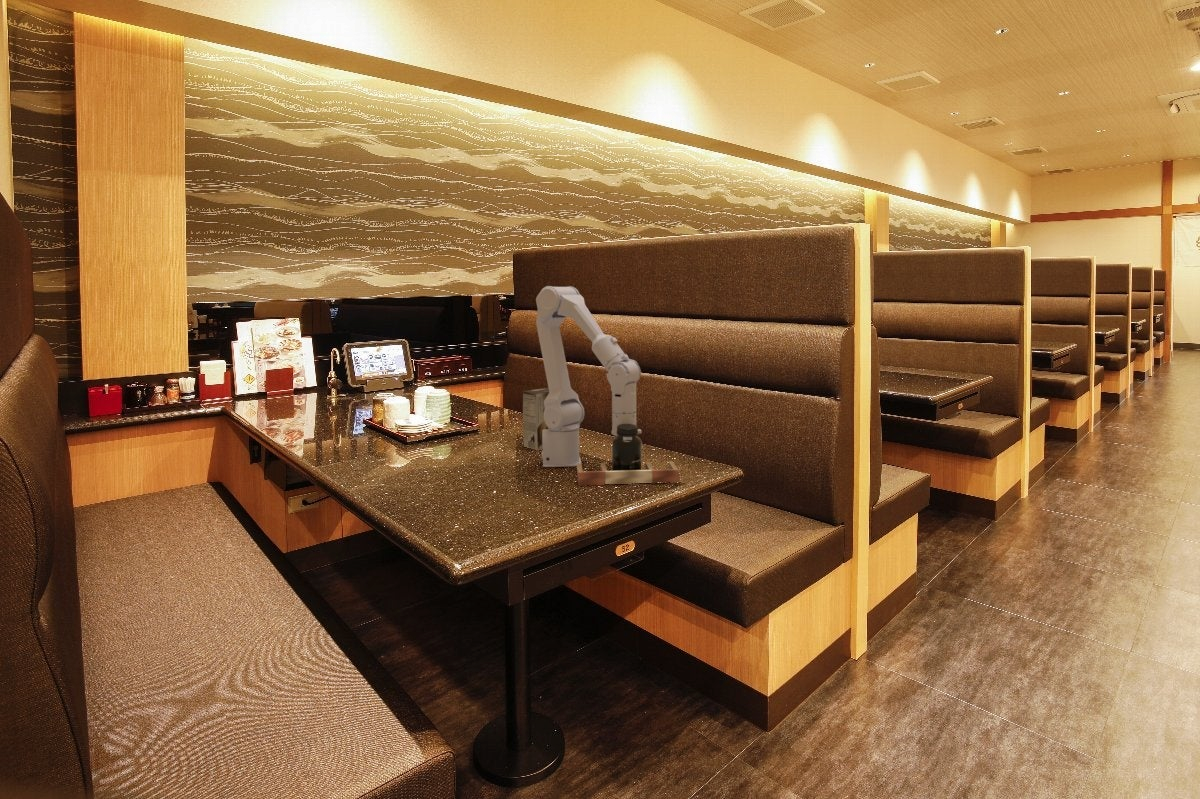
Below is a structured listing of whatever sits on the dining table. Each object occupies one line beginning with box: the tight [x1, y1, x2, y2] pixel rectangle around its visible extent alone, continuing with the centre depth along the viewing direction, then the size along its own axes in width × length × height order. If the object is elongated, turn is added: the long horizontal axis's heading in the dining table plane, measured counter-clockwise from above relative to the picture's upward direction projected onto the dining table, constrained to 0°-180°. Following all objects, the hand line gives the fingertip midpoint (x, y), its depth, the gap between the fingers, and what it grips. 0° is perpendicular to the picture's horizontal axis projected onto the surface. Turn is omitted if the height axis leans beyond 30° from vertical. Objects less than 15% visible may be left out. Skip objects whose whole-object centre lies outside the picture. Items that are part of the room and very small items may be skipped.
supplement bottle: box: [611, 424, 643, 471], centre depth 159 cm, size 7×7×12 cm
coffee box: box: [521, 387, 549, 451], centre depth 192 cm, size 9×6×16 cm
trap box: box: [576, 460, 680, 487], centre depth 158 cm, size 22×8×3 cm, turn 93°
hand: (624, 468), depth 164 cm, fingers closed, pressing on supplement bottle
